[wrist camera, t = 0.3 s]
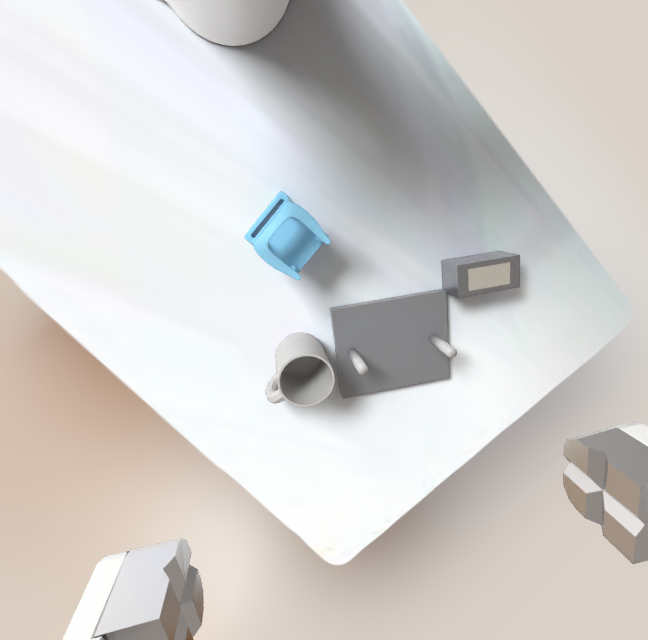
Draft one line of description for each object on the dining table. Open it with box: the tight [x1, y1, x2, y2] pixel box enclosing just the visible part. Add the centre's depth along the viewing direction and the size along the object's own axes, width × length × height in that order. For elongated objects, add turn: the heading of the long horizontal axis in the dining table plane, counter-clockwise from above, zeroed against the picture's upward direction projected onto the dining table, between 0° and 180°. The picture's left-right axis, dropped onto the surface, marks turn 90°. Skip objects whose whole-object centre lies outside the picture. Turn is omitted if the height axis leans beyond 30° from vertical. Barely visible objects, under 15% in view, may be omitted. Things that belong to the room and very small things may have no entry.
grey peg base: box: [330, 289, 457, 398], centre depth 55 cm, size 14×17×7 cm
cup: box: [266, 333, 335, 407], centre depth 53 cm, size 7×10×9 cm
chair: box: [245, 191, 331, 280], centre depth 46 cm, size 8×8×12 cm
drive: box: [441, 251, 520, 298], centre depth 55 cm, size 4×9×5 cm, turn 98°
